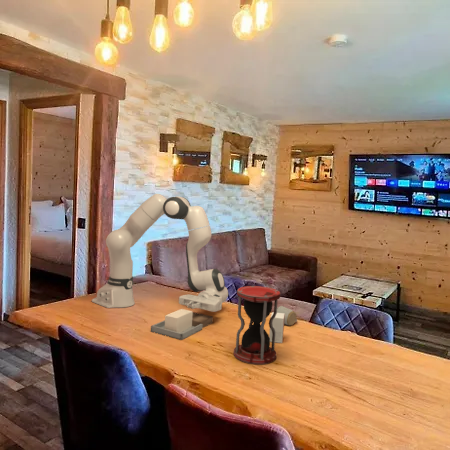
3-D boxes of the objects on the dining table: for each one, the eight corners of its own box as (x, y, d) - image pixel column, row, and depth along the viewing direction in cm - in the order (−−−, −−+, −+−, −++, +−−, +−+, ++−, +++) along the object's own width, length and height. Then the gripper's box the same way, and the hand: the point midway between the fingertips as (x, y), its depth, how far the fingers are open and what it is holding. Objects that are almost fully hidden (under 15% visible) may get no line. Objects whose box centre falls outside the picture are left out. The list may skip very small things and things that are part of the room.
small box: (282, 343, 172) (283, 318, 171) (268, 341, 173) (270, 317, 172) (283, 336, 179) (285, 313, 178) (270, 335, 180) (272, 311, 179)
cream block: (180, 324, 187) (164, 331, 177) (181, 308, 186) (165, 315, 176) (191, 326, 184) (176, 334, 174) (192, 311, 184) (176, 318, 173)
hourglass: (240, 366, 148) (245, 297, 145) (228, 348, 163) (232, 285, 161) (283, 363, 152) (287, 296, 150) (267, 346, 168) (271, 285, 165)
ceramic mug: (287, 327, 192) (288, 311, 191) (273, 322, 197) (274, 306, 197) (301, 323, 199) (302, 307, 198) (287, 319, 205) (288, 303, 204)
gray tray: (150, 331, 177) (150, 325, 177) (172, 322, 191) (172, 316, 190) (181, 340, 169) (181, 334, 169) (202, 329, 183) (202, 324, 183)
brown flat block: (175, 322, 190) (175, 316, 190) (187, 317, 199) (187, 310, 199) (200, 328, 184) (201, 322, 183) (212, 323, 192) (212, 316, 192)
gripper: (188, 289, 204) (171, 295, 192) (224, 297, 194) (209, 303, 182) (188, 302, 205) (170, 308, 193) (224, 310, 195) (208, 317, 183)
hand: (189, 306), depth 187 cm, fingers closed
